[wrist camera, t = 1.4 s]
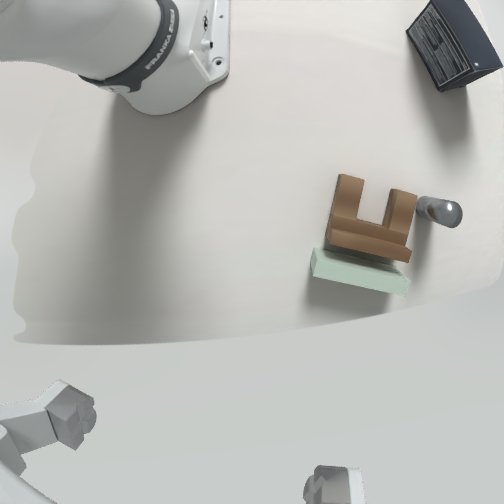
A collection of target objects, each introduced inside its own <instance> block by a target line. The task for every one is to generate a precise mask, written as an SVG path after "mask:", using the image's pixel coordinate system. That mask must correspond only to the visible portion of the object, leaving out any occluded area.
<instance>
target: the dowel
mask: <svg viewBox="0 0 504 504" xmlns="http://www.w3.org/2000/svg"><path fill="white" fill-rule="evenodd" d="M416 211H417V213H418V215H419V216H420V217H422V218H425V219H428V220H430V221H433V222H436V223H438V224H441V225H444V226H446V227H449V228H455V227H457V226H458V225H459V224H460V222H461V220H462V209H461V207H460V205H459V204H458V203H456V202H454V201H449V200H444V199H438V198H433V197H428V196H423V197H420V198H419V199H418V201H417V203H416Z"/></svg>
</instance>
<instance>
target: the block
mask: <svg viewBox="0 0 504 504" xmlns="http://www.w3.org/2000/svg"><path fill="white" fill-rule="evenodd" d="M363 185H364V180H363V179H360V178H356V177H352V176H348V175H345V174H339V176H338V181H337V185H336V190H335V195H334V199H333V204H332V208H331V212H330V217H329V221H328V225H327V229H326V234H325V236H326V237H327V239H328V241H329V243H330V244H332V245H336V246H340V247H344V248H349V249H353V250H357V251H361V252H365V253H369V254H374V255H378V256H382V257H386V258H390V259H394V260H398V261H402V262H406V263H409V260H410V256H411V253H412V251H411V250H410V249H408V248H407V247H405V244H406V241H407V237H408V234H409V230H410V226H411V222H412V218H413V214H414V210H415V205H416V201H417V195H414V194H411V193H408V192H404V191H401V190H397V189H391V191H390V196H389V200H388V204H387V209H386V213H385V217H384V221H383V225H379V224H375V223H371V222H367V221H363V220H359V219H356V216H357V212H358V207H359V203H360V199H361V194H362V190H363Z"/></svg>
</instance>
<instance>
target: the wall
mask: <svg viewBox="0 0 504 504" xmlns="http://www.w3.org/2000/svg"><path fill="white" fill-rule="evenodd" d="M310 262H311V268H312V274H313V276H314V277H319V278H323V279H328V280H332V281H337V282H341V283H346V284H351V285H355V286H360V287H365V288H369V289H374V290H378V291H383V292H388V293H393V294H397V295H402V296H406V294H407V291H408V288H409V285H410V282H411V281H410V280H409V279H408V278H407V277H406V276H405V275H404V274H403V273H402V272H401V271H400V270H399V269H398V268H397V267H395V266H391V265H387V264H383V263H379V262H375V261H370V260H366V259H362V258H358V257H353V256H349V255H345V254H340V253H336V252H332V251H327V250H323V249H319V248H314V249H313V253H312V257H311V261H310Z"/></svg>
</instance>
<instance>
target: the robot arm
mask: <svg viewBox="0 0 504 504" xmlns="http://www.w3.org/2000/svg"><path fill="white" fill-rule="evenodd" d="M230 4H231V0H0V62H4V61H28V62H37V63H43V64H47V65H50V66H54V67H57V68H60V69H63V70H66V71H70V72H73V73H75V74H78V76H79V77H80V78H82V79H83V80H85V81H87V82H89V83H91V84H94V85H96V86H98V87H99V88H101V89H104V90H107V91H110V92H114V93H120V94H121V95H122V96H124V97H125V98H126V99H127V101H128V102H129V103H130V104H131V105H132V106H133V107H134V108H135V109H136V110H138V111H140V112H142V113H145V114H150V115H164V114H168V113H172V112H175V111H177V110H179V109H181V108H183V107H185V106H186V105H188V104H189V103H191V102H192V101H193V100H194V99H195V98H197V97H198V96H199V94H200V93H201V92H202V91H203V90H204V89H206V88H207V87H208V86H210V85H212V84H214V83H216V82H219V81H220V80H222V79H224V78H225V77H226V76H227V75H228V73H229V41H230ZM218 62H222V63H221V64H220V65H217V63H218ZM93 405H94V400H93V398H92V397H90V396H89V395H87V394H85V393H83V392H81V391H80V390H78V389H76V388H74V387H72V386H71V385H69V384H68V383H66V382H64V381H62V380H57V381H55V382H54V383H53V384H52V385H51V386H50V387H49V388H48V389H47V390H46V391H45V392H44V393H42V394H41V395H40V396H39V397H38V398H37V399H36V400H35V401H32V400H27V401H22V402H16V403H11V404H5V405H0V504H57V503H55V502H54V501H52V500H50V499H49V498H48V497H46V496H45V495H44V494H42V493H41V492H39V491H38V490H37V489H35V488H34V487H32V486H31V485H30V484H28V483H27V482H26V481H25V480H23V479H22V478H21V477H20V475H21V473H22V472H23V471H24V470H25V468H26V463H25V462H24V460H23V458H22V457H21V454H24V453H27V452H30V451H33V450H35V449H38V448H41V447H44V446H46V445H49V444H52V443H55V442H57V441H60V442H62V443H63V444H65V445H67V446H68V447H70V448H72V449H74V450H76V449H77V448H78V447H79V445H80V444H81V443H82V442H83V440H84V434H86V433H89V432H90V431H91V430H92V428H93V427H94V425H95V422H96V412H95V410H94V409H93V407H92V406H93ZM303 498H304V500H305V501H306V502H307V503H306V504H365V496H364V488H363V481H362V474H361V470H360V469H359V468H345V467H335V466H322V465H319V466H317V467H316V469H315V470H314V475H312V476H310V477H309V478H308V480H307V482H306V484H305V487H304V493H303Z"/></svg>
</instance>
